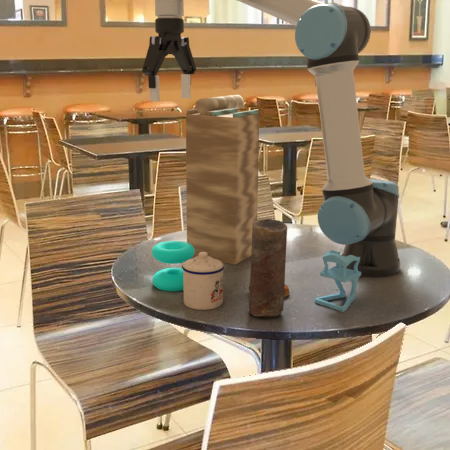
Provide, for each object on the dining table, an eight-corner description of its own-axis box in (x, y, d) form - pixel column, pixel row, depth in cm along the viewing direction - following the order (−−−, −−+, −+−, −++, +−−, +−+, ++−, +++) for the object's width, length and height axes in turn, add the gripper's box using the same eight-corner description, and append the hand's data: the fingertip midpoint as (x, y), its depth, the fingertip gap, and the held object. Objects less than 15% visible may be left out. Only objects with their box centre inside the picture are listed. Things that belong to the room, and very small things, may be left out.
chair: (364, 301, 146) (367, 250, 143) (343, 312, 140) (346, 258, 137) (335, 293, 151) (337, 243, 148) (314, 302, 145) (316, 251, 142)
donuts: (197, 250, 149) (153, 252, 147) (197, 291, 151) (154, 294, 150) (191, 238, 158) (150, 240, 157) (191, 277, 161) (151, 279, 159)
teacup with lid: (219, 312, 140) (219, 260, 137) (177, 309, 141) (177, 257, 138) (229, 292, 151) (230, 244, 148) (191, 289, 153) (191, 241, 150)
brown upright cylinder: (283, 307, 142) (286, 218, 137) (285, 321, 135) (288, 228, 130) (248, 307, 143) (249, 218, 137) (248, 320, 136) (250, 227, 130)
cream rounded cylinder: (231, 108, 184) (231, 94, 183) (243, 109, 182) (243, 95, 181) (196, 113, 169) (196, 98, 168) (209, 114, 167) (209, 99, 166)
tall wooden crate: (210, 244, 188) (210, 106, 178) (256, 252, 180) (259, 109, 170) (187, 255, 178) (185, 110, 168) (234, 264, 170) (236, 113, 160)
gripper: (186, 19, 184) (187, 96, 190) (126, 16, 164) (129, 101, 170) (208, 19, 180) (208, 97, 186) (149, 15, 160) (151, 103, 166)
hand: (170, 99), depth 178 cm, fingers open, 13 cm apart
